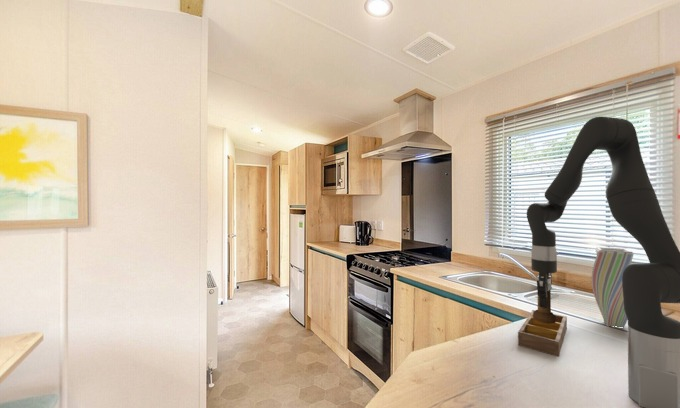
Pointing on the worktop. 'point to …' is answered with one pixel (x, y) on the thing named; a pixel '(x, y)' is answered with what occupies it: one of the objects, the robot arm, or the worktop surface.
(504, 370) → the worktop surface
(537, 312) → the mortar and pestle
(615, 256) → the vase
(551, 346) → the rack
